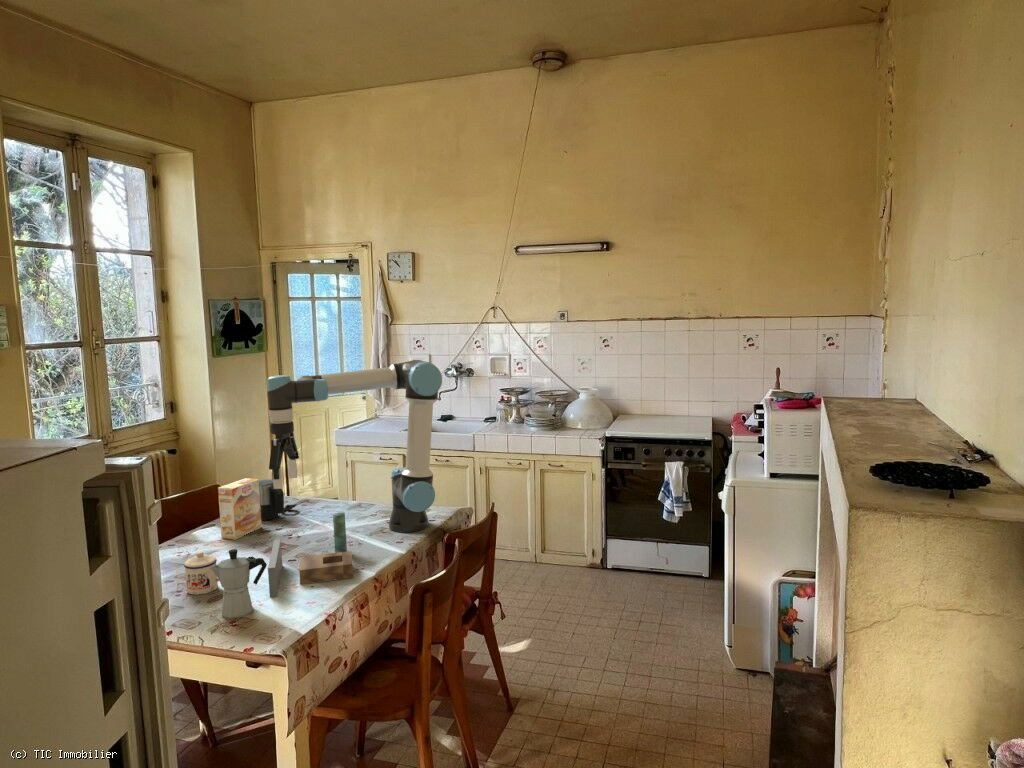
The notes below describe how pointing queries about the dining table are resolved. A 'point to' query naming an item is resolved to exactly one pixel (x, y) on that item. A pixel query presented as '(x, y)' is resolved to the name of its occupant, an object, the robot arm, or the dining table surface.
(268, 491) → the milk frother
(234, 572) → the coffee maker
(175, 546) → the dining table surface
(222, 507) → the coffeecake box
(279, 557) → the wall
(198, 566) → the teacup with lid
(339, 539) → the dowel
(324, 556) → the socket block
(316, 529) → the dining table surface
